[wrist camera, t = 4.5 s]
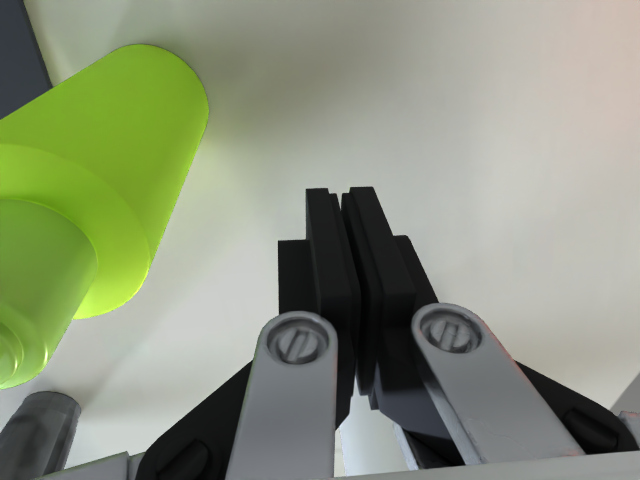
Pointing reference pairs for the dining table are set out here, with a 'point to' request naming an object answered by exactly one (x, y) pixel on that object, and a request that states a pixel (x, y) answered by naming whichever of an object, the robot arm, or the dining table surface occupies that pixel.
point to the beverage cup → (38, 436)
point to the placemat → (19, 59)
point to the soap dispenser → (89, 195)
